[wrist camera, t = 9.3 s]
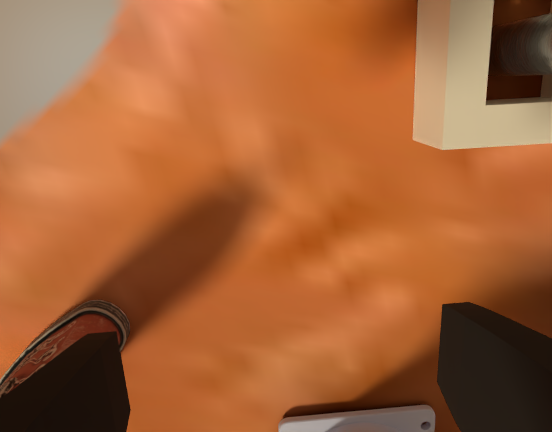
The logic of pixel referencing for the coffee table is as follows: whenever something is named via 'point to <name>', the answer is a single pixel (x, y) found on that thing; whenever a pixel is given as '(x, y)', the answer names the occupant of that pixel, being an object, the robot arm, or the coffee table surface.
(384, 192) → the coffee table surface
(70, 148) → the coffee table surface
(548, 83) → the block with square hole
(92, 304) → the lighter
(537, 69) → the metal peg
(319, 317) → the coffee table surface
